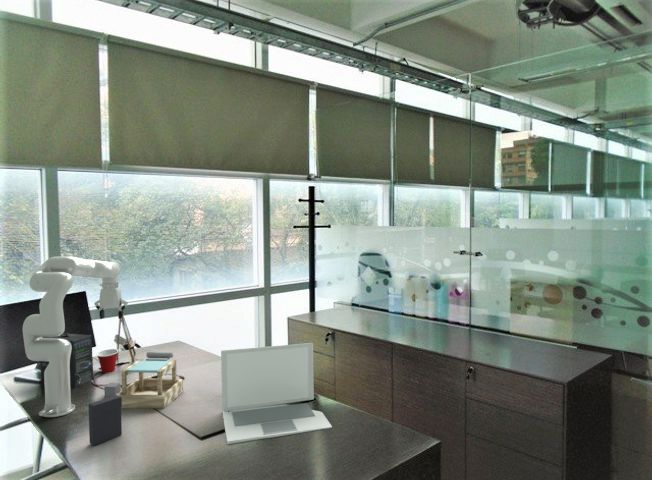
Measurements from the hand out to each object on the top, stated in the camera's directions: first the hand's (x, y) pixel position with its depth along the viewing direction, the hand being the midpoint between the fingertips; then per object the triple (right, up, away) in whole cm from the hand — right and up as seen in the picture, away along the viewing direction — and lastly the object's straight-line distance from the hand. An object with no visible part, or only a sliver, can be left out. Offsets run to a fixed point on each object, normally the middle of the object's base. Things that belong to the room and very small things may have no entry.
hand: (111, 318), depth 243 cm
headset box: (-19, -32, -8) cm, 38 cm away
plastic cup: (-5, -31, +6) cm, 32 cm away
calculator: (+29, -34, -68) cm, 82 cm away
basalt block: (+13, -32, -27) cm, 44 cm away
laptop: (+91, -33, -54) cm, 111 cm away
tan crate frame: (+32, -32, -30) cm, 55 cm away
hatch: (+32, -17, -28) cm, 46 cm away
